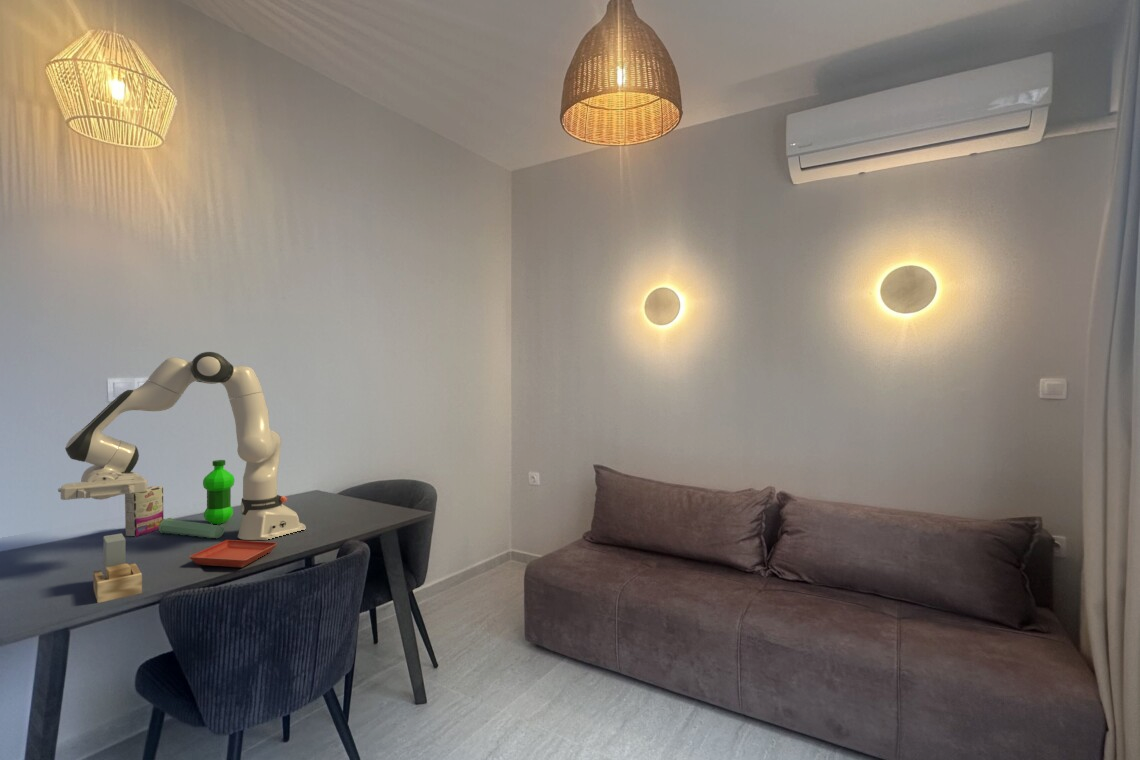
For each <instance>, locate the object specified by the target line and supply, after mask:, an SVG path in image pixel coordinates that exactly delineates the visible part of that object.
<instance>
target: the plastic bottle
mask: <svg viewBox="0 0 1140 760" xmlns="http://www.w3.org/2000/svg"><path fill="white" fill-rule="evenodd" d="M225 466H226V460H225V459H217V460H215V459H214V460H212V467H213V470H212V471H210V472H209V473H208V474H207V475H205V476H204V478H203V480H202V486H203V488H204V489H205V490H206V509H205V511H204V512H203V518H204V519H205V520H206V521H207V522H209V524H211V523H212V524H217V525H222V524H221V523H223V524H226V523H227V522H228V521H229V520H230V519H231V518H232V517H233V514H234V509H233V507H232V506H231V505H232V502H231V499H232V498H231V497H232V495H231V490H232V488H233V486H234V484H235V476H234V474H232V473H230V471H228V470H226V469H225ZM226 521H227V522H226ZM225 522H226V523H225Z"/></svg>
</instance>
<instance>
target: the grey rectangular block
mask: <svg viewBox="0 0 1140 760" xmlns="http://www.w3.org/2000/svg"><path fill="white" fill-rule="evenodd" d="M126 543H127V542H126V537H125V536H124V535H123V533H116V534H115V533H114V534H110V535H104V536H103V546H102V547H103V551H102V552H103V553H102V554H103V558H102V559H103V561H102V562H103V567H102V568H103V572H102V574H103V577H104V580H105V578H106V568H107V567H112V566H116V565H121V564H126V558H127V557H126V545H127V544H126Z"/></svg>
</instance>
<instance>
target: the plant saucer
mask: <svg viewBox="0 0 1140 760" xmlns="http://www.w3.org/2000/svg"><path fill="white" fill-rule="evenodd" d="M277 545H278V542H272V541H271V542H268V541H257V540H237V539H235V540H234V539H225V540H223V541H222V542H219V543H217V544H214V545H212V546H209V547H207V548H205V549H203V550H200V551H198V552H196V553H194V554H191V555H189V556H188V558H189V559H190V560H192V562H193V563H195V564H196V565H199V566H214V567H216V566H217V567H229V568H244V567H245V566H247V565H249V564H251V563H253V562H255V561H256V560H259V559H261V558H263V557H264V555H265V556H267V555H268V554H270V553H271V552H272V550H273V549H274V548H276V546H277ZM267 553H268V554H267ZM262 556H263V557H262ZM260 557H261V558H260ZM258 558H259V559H258Z"/></svg>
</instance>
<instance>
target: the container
mask: <svg viewBox="0 0 1140 760" xmlns="http://www.w3.org/2000/svg"><path fill="white" fill-rule="evenodd" d="M224 531H225V530H224V528H223V527H222V526H221V524H217V525H213V524H211V523H205V522H204V523H203V522H195V521H189V520H188V521H187V520H178V519H173V518H172V517H167V518H163V520H162V522H161V523H160V524H159V530H158V532H160V533H161V534H162V533H165V534H170V533H171V535H178V534H180V535H179V536H185V535H189V536H188V537H194V536H198V538H203V537H207V538H206V539H211V538H216V539H219V538H222V536H223V534H225V533H224Z"/></svg>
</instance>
